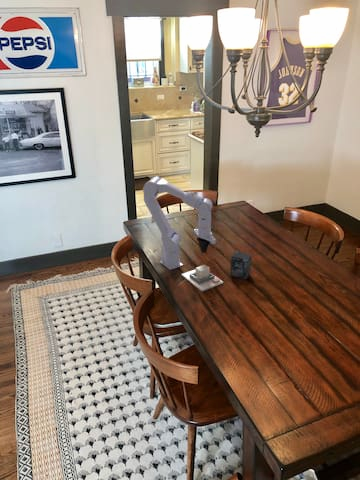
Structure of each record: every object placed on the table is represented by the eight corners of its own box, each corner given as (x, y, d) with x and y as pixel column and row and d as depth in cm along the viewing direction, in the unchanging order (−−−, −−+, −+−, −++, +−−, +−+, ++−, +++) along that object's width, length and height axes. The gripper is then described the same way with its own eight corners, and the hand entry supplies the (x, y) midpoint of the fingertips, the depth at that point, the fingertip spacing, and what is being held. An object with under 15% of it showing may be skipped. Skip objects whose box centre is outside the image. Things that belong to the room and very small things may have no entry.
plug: (195, 277, 169) (195, 267, 167) (204, 274, 172) (204, 264, 170) (200, 281, 166) (200, 271, 164) (209, 278, 169) (209, 268, 167)
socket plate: (181, 275, 172) (181, 271, 171) (202, 268, 178) (202, 264, 177) (201, 291, 160) (202, 286, 159) (223, 283, 166) (223, 278, 165)
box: (229, 275, 172) (231, 256, 167) (234, 270, 176) (235, 250, 172) (245, 280, 169) (247, 260, 164) (250, 274, 173) (251, 254, 168)
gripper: (221, 228, 164) (220, 255, 170) (202, 218, 175) (201, 244, 181) (209, 232, 161) (208, 259, 166) (189, 221, 171) (189, 247, 177)
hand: (203, 251), depth 173 cm, fingers closed
